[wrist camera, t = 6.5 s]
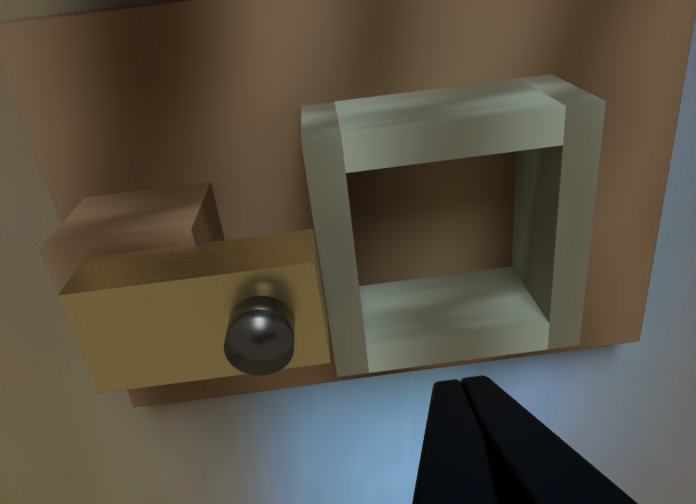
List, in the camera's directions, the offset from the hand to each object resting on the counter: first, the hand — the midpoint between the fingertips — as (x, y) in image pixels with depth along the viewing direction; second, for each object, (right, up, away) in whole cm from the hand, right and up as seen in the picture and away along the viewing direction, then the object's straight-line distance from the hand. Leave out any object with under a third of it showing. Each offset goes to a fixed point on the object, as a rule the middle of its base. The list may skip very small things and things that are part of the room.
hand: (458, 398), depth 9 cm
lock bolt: (-6, +1, +6) cm, 8 cm away
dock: (-1, +4, +11) cm, 12 cm away
